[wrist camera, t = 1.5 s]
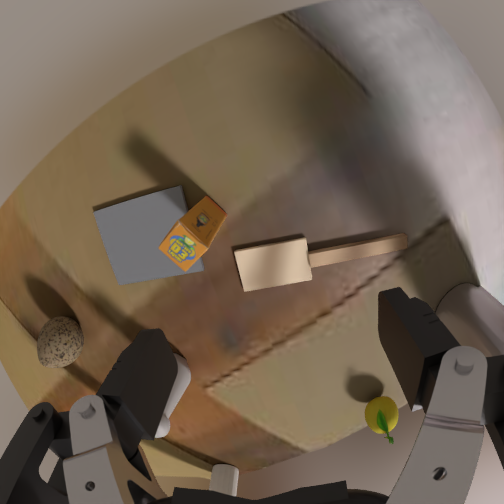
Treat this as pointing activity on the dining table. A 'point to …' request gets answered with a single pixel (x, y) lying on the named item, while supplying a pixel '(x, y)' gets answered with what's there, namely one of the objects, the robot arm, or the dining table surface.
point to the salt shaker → (174, 395)
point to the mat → (142, 235)
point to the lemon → (382, 415)
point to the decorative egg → (59, 342)
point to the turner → (303, 259)
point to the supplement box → (193, 233)
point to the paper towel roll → (224, 479)
